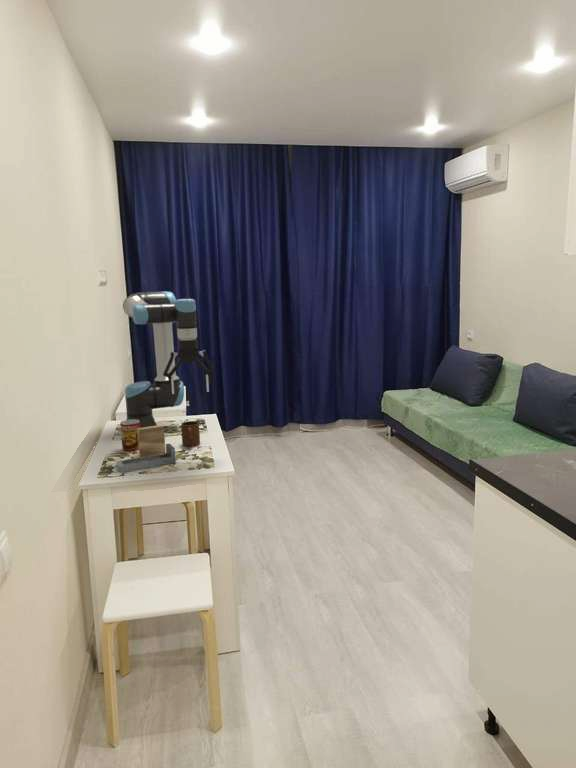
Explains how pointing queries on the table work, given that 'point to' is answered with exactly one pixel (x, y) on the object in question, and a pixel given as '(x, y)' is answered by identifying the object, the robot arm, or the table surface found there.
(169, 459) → the track
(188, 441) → the mug
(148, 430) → the door panel
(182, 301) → the robot arm
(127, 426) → the canned food
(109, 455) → the table surface
